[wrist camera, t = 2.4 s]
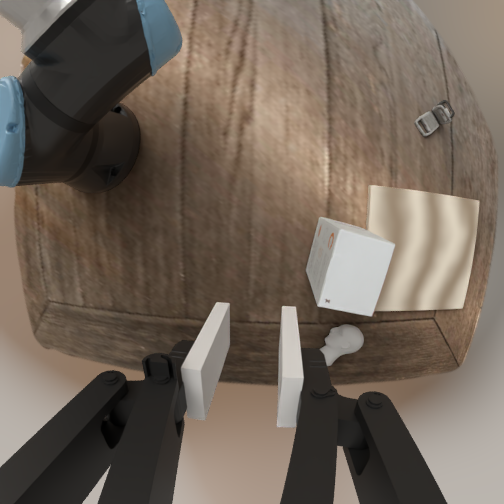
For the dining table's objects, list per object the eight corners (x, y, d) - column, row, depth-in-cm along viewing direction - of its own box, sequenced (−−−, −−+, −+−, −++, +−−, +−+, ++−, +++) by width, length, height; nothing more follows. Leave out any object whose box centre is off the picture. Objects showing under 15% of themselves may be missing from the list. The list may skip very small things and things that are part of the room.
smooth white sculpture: (351, 314, 42) (365, 340, 42) (307, 339, 44) (322, 365, 43) (353, 318, 38) (369, 347, 37) (305, 346, 40) (322, 374, 39)
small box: (346, 280, 40) (372, 319, 27) (304, 271, 40) (315, 307, 28) (361, 226, 38) (397, 243, 26) (319, 215, 38) (338, 227, 26)
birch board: (356, 307, 41) (358, 311, 40) (368, 185, 37) (371, 185, 36) (459, 305, 39) (462, 308, 38) (475, 200, 35) (479, 200, 34)
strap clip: (422, 138, 35) (436, 135, 31) (411, 121, 34) (424, 116, 30) (454, 115, 33) (468, 110, 29) (443, 98, 33) (457, 92, 28)
